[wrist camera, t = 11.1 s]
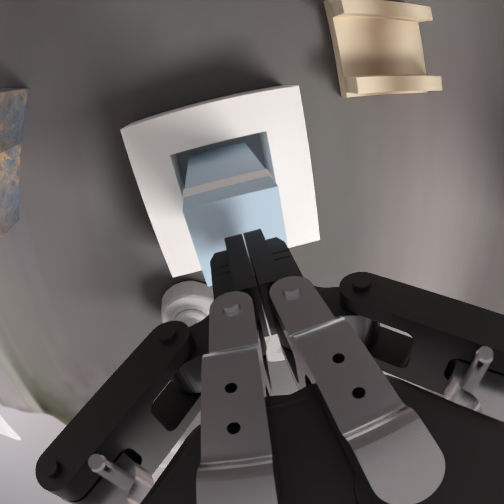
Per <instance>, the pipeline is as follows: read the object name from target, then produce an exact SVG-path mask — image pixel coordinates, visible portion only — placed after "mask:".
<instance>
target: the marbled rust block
mask: <svg viewBox="0 0 504 504" xmlns="http://www.w3.org/2000/svg"><path fill="white" fill-rule="evenodd" d="M28 91H29V88H0V238H1V237H2V236H3V235H4V234H5V233H6V232H7V231H8V230H9V229H10V228H11V227H12V226H13V225H14V224H15V223H16V222H17V221H18V220H19V167H20V152H21V140H22V131H23V123H24V115H25V109H26V102H27V96H28Z"/></svg>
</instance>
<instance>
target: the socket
mask: <svg viewBox="0 0 504 504" xmlns="http://www.w3.org/2000/svg"><path fill="white" fill-rule="evenodd" d="M120 131H121V134H122V138H123V141H124V144H125V147H126V151H127V154H128V157H129V160H130V163H131V166H132V169H133V172H134V175H135V178H136V181H137V184H138V187H139V190H140V193H141V196H142V199H143V201H144V204H145V207H146V210H147V213H148V215H149V218H150V221H151V223H152V226H153V229H154V231H155V234H156V237H157V239H158V242H159V245H160V247H161V250H162V252H163V255H164V257H165V260H166V262H167V265H168V267H169V270H170V272H171V275H172V277H177V276H181V275H185V274H189V273H193V272H197V271H201V270H202V268H201V266H200V263H199V260H198V257H197V254H196V251H195V248H194V245H193V242H192V238H191V235H190V232H189V229H188V226H187V223H186V220H185V217H184V214H183V210H182V209H183V197H182V196H183V189H185V182H186V174H187V166H188V159H189V156H190V155H194V154H197V153H201V152H205V151H209V150H213V149H217V148H221V147H225V146H229V145H234V144H238V143H242V142H245V143H246V145H247V146H248V147H249V148H250V150H251V151H252V152H253V154H254V155H255V156H256V158H257V159H258V160H259V161H260V163H261V164H262V165H263V167H264V168H265V169H267V170H268V171H269V172H270V174H271V176H272V179H273V180H274V181H275V183H276V184H277V185H278V188H279V194H280V200H281V206H282V212H283V218H284V224H285V231H286V237H287V243H288V248H291V247H294V246H298V245H302V244H306V243H310V242H314V241H318V240H320V236H319V226H318V217H317V208H316V199H315V191H314V183H313V175H312V167H311V160H310V153H309V146H308V139H307V132H306V126H305V120H304V114H303V108H302V102H301V96H300V90H299V86H294V85H279V86H273V87H267V88H262V89H256V90H251V91H246V92H241V93H236V94H231V95H227V96H222V97H218V98H214V99H210V100H206V101H202V102H198V103H194V104H190V105H186V106H183V107H179V108H176V109H172V110H169V111H165V112H162V113H159V114H156V115H152V116H149V117H146V118H143V119H140V120H137V121H134V122H132V123H130V124H129V125H127V126H125V127H124V128H122V129H120Z"/></svg>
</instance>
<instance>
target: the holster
mask: <svg viewBox="0 0 504 504" xmlns="http://www.w3.org/2000/svg"><path fill="white" fill-rule="evenodd" d="M323 2H324V6H325V11H326V15H327V20H328V24H329V29H330V34H331V39H332V44H333V49H334V55H335V60H336V66H337V72H338V78H339V85H340V91H341V97H356V96H367V95H381V94H398V93H428V91H442V81H441V76H433V75H426V71H425V62H424V55H423V48H422V42H421V36H420V30H419V24H418V22H424V21H433V18H432V13H431V9H430V7H427V6H422V5H416V4H409V3H402V2H394V1H385V0H325V1H323Z"/></svg>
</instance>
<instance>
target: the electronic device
mask: <svg viewBox="0 0 504 504" xmlns="http://www.w3.org/2000/svg"><path fill="white" fill-rule="evenodd" d="M213 301H214V297H213V287H212V286H210V287H208V286H207V285H206V284H204V283H200V282H196V281H184V282H180V283H178V284H175V285H173V286H172V287H170V288H169V289H168V290H167V291H166V292H165V294H164V296H163V298H162V306H161V321H162V323H165V322H168V321H182V322H184V323H185V324H187V326H188V327H190V326H192V325H194V324H196V323H198V322H200V321H201V320H203V319H204V318H206V317H207V316H208V315H209V309H210V305H211V304H212V302H213ZM262 307H263V306H262ZM263 311H264V309H263ZM264 315H265V313H264ZM265 320H266V324H267V328H268V332H269V336H268V337H264V338H265V341H266V346H267V350H266V353H267V357H268V361H281V360H284V359H285V358H284V355H283V353H282V350H281V345H280V341H279V338H278V334H275V335H271V333H270V329H269V326H268V323H267V319H266V316H265Z"/></svg>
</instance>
